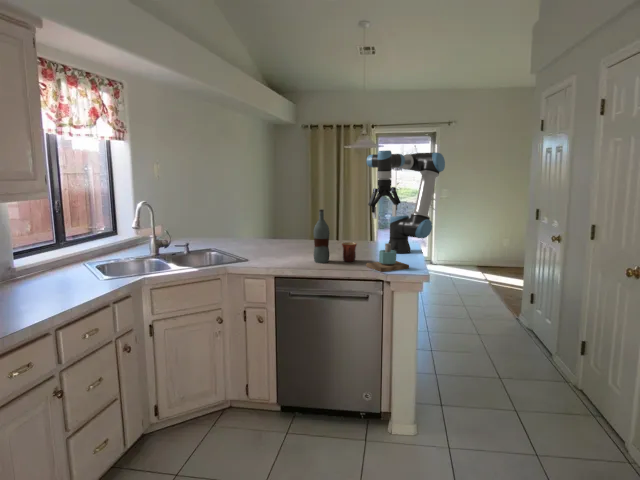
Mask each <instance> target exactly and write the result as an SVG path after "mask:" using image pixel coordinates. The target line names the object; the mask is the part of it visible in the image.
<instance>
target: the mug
mask: <svg viewBox="0 0 640 480" xmlns="http://www.w3.org/2000/svg"><path fill="white" fill-rule="evenodd" d="M357 245H358V243H356V242H351V241H350V242H342V243H341V247H342V260H343V262H344V263H353V262H354V263H355V262H356V257H357V255H356V254H357V252H356V251H357Z"/></svg>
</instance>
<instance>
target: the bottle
mask: <svg viewBox="0 0 640 480" xmlns="http://www.w3.org/2000/svg"><path fill="white" fill-rule="evenodd" d="M318 210H319V211H318V214H319V215H318V220H317V222H316V224H314V228H313V241H314V244H313V245H314V248H313V260H314V263H316V264H327V263H328V262H330V249H329V245H330V244H329V243H330V228H329V225H328V223H327V222H326V221H325V219H324V218H325V217H324V216H325V215H324V211H325V210H324V209H321V208H320V209H318Z"/></svg>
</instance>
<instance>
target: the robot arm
mask: <svg viewBox="0 0 640 480" xmlns="http://www.w3.org/2000/svg"><path fill="white" fill-rule="evenodd" d="M366 165H367V167H368V168H373V169H375V168H376V169H377V187H378V188H375V187H374V188H373V189H372V194H371V196H370V198H369V201H368V204H367V205H368V206H370V207H371V208H370V209H371V213H372V219H375V220H376V219H377V204H378V203H379V201H380V200H381V198H382V197H388V199H389V200H390V201H391V202H392V203H393V204H392V206H391V207H392V209H391V211H392V213H391V214H392V215H391V217H390V219H389V241H388V243H389V244H391V250H394V251H396V254H401V255H402V254H410V253H411V246H410V243H409V237H410V238H417V239H425V238H427V237H429V236H430V234H431V232H432V229H433V223H432V221H431V218H430V216H429V213H430V207H431V202H432V198H433V193H434V190H435V189H434V188H435V184H436V183H435V182H436V179H437V178H438V177H439V176H440V173H442V172H443V171H444V170H445V168H446V161H445V157H444V155H443V154H442V153H441V152H435V151H433V152H417V153H410V154H409V153H408V154H407V153H406V154H403V153H392V151H391V150H378V151H377V153H376V154H374V153H373V154H369V155H367V157H366ZM393 168H395V169H398V168H399V169H404V170H406V171H407V170H409V171H413V172H414V171H415V172H419V173H420V175H421V178H420V183H419V187H418V188H419V189H418V193H417V197H416V202H415V206H414V210H413V212H412V213H411V215H409V214H408V215H407V214H406V215H397V211H398V206H399V204H401V200H400V197H399V196H398V193H397V189H396V187H395V186H392V169H393Z"/></svg>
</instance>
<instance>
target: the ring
mask: <svg viewBox="0 0 640 480" xmlns="http://www.w3.org/2000/svg"><path fill="white" fill-rule="evenodd" d="M378 252H379V253H378V254H379V255H378V258H379V259H378V262H380V263H383V264H394V263H396V261H397V253H396V251H394V250H391V252H385V249H381V250H379V251H378Z"/></svg>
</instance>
